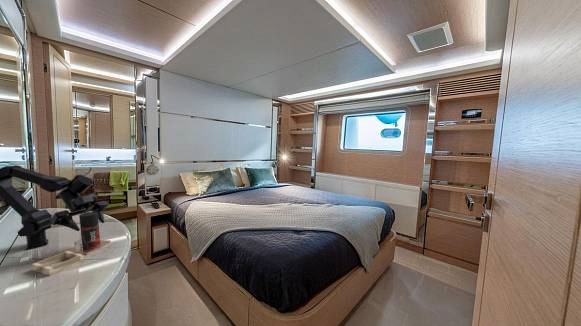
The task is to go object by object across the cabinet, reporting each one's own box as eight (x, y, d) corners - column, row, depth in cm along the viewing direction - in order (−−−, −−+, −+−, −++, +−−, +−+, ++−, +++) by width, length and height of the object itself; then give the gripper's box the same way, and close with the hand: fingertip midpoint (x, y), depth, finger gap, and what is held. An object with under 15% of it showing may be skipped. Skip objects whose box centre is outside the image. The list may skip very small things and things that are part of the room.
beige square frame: (32, 270, 78) (32, 264, 78) (67, 256, 88) (67, 250, 88) (49, 275, 75) (49, 269, 75) (83, 260, 85) (83, 254, 85)
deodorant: (89, 249, 92) (86, 216, 90) (78, 248, 93) (75, 215, 91) (103, 243, 97) (101, 212, 96) (93, 242, 98) (90, 211, 97)
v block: (110, 242, 100) (110, 235, 100) (87, 254, 89) (86, 247, 89) (90, 241, 101) (89, 234, 101) (64, 253, 90) (63, 246, 90)
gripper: (51, 193, 84) (72, 223, 82) (104, 184, 102) (122, 208, 100) (41, 210, 87) (61, 239, 86) (94, 198, 105) (111, 222, 103)
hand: (91, 226), depth 94 cm, fingers open, 9 cm apart
